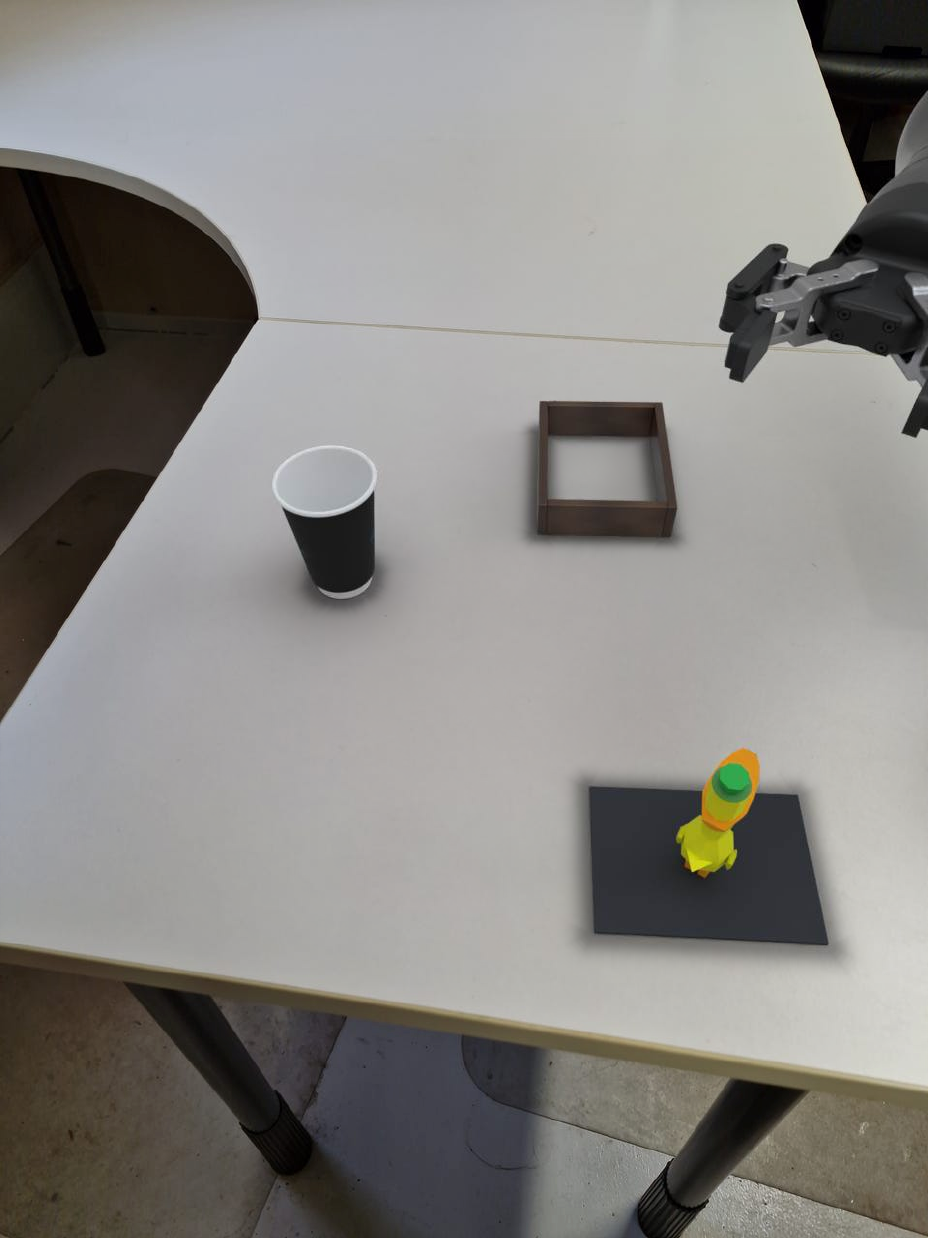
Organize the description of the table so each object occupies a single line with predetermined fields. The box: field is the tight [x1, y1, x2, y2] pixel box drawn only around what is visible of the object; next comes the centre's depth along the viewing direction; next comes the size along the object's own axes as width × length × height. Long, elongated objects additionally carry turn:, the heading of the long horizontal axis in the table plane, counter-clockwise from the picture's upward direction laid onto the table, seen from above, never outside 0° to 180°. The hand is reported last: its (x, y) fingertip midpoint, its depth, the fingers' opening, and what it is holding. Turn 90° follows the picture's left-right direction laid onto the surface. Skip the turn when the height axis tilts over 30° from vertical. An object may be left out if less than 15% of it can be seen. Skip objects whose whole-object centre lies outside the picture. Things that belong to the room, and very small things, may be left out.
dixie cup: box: [270, 444, 378, 600], centre depth 68 cm, size 8×8×11 cm
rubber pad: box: [588, 785, 829, 946], centre depth 55 cm, size 14×10×1 cm
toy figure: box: [676, 747, 761, 878], centre depth 51 cm, size 7×4×12 cm, turn 147°
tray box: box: [536, 400, 678, 538], centre depth 78 cm, size 12×15×4 cm
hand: (823, 391), depth 41 cm, fingers open, 8 cm apart
